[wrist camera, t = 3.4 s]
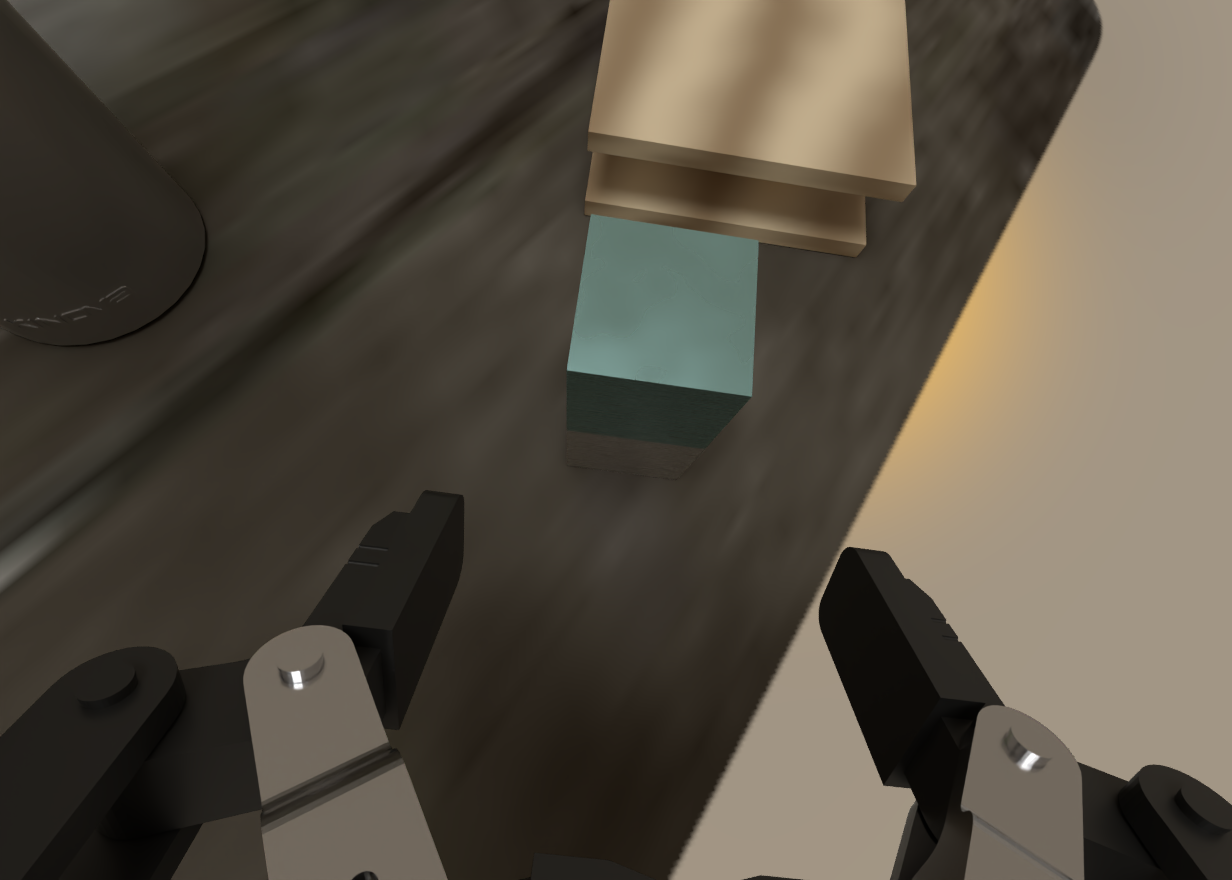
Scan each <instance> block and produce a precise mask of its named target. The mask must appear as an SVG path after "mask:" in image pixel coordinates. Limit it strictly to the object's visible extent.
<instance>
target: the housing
mask: <svg viewBox="0 0 1232 880" xmlns="http://www.w3.org/2000/svg"><path fill="white" fill-rule="evenodd" d="M758 244H759V240H753V239H747V238H740V237H734V236H728V235H721V234H715V233H708V232H702V231H696V230H689V229H683V228H677V227H670V226H664V225H658V224H651V223H645V222H638V221H632V220H626V219H619V218H613V217H607V216H600V215H594V214H591V218H590V224H589V231H588V237H587V243H586V250H585V256H584V263H583V269H582V276H581V282H580V288H579V295H578V301H577V308H576V314H575V321H574V327H573V333H572V340H571V346H570V353H569V359H568V365H567V466H573V467H580V468H588V469H595V470H603V471H610V472H618V473H625V474H633V475H640V476H648V477H655V478H663V479H670V480H677V479H678V478H679V477H680V476H681V475H682V474H683V473H684V472H685V470H686V469H687V468H688V467H689V466H690V465H691V464H692V463H693V462H694V460H695V459H696V458H697V457H698V456H699V455H700V454H701V453H702V452H703V450H704V449H705V448H706V447H707V446H708V445H709V444H710V443H711V442H712V440H713V439H714V438H715V437H716V436H717V435H718V434H719V433H720V432H721V430H722V429H723V428H724V427H725V426H726V425H727V424H728V423H729V422H730V420H731V419H732V418H733V417H734V416H735V415H736V414H737V413H738V411H739V410H740V409H741V408H742V407H743V406H744V405H745V404H746V403H747V401H748V400H749V399H750V398H751V397H752V383H753V360H754V336H755V313H756V290H757V267H758Z"/></svg>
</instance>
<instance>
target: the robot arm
mask: <svg viewBox="0 0 1232 880" xmlns="http://www.w3.org/2000/svg"><path fill="white" fill-rule="evenodd" d="M204 250H205V229H204V225H203V222H202V218H201V215H200V212H199V211H198V209H197V208H196V206H195V204H194V203H193V201H192V200H191V198H190V197H189V196H188V195H187V194H186V193H185V192H184V191H183V190H182V188H181V187H180V186H179V185H178V184H177V183H176V182H175V181H174V180H173V179H172V178H171V177H170V176H169V174H168V173H167V172H166V171H165V170H164V169H163V168H162V167H161V166H160V165H159V164H158V163H157V162H156V161H155V159H154V158H153V157H152V156H151V155H150V154H149V153H148V152H147V151H146V150H145V149H144V148H143V147H142V145H141V144H140V143H139V142H138V141H137V140H136V139H135V138H134V137H133V136H132V135H131V134H130V133H129V132H128V130H127V129H126V128H125V127H124V126H123V125H122V124H121V122H120V121H119V120H118V119H117V118H116V117H115V116H114V115H113V114H112V113H111V112H110V111H109V110H108V108H107V107H106V106H105V105H104V104H103V103H102V102H101V101H100V100H99V99H98V98H97V97H96V96H95V94H94V93H93V92H92V91H91V90H90V89H89V88H88V87H87V86H86V85H85V84H84V83H83V82H82V80H81V79H80V78H79V77H78V76H77V75H76V74H75V73H74V72H73V71H72V70H71V69H70V68H69V67H68V65H67V64H66V63H65V62H64V61H63V60H62V59H61V58H60V57H59V56H58V55H57V54H56V53H55V51H54V50H53V49H52V48H51V47H50V46H49V45H48V44H47V43H46V42H45V41H44V40H43V39H42V37H41V36H40V35H39V34H38V33H37V32H36V31H35V30H34V29H33V28H32V27H31V26H30V25H29V23H28V22H27V21H26V20H25V19H24V18H23V17H22V16H21V15H20V14H19V13H18V12H17V11H16V10H15V8H14V7H13V6H12V5H11V4H10V3H9V2H8V1H7V0H0V327H1V328H3V329H5V330H7V331H9V332H11V333H13V334H15V335H18V336H21V337H24V338H26V339H29V340H32V341H35V342H39V343H46V344H53V345H60V346H62V345H86V344H91V343H96V342H101V341H106V340H110V339H114V338H116V337H119V336H121V335H124V334H127V333H129V332H132V331H135V330H137V329H138V328H140V327H142V326H144V325H145V324H147V323H149V322H150V321H152V320H154V319H156V318H157V317H159V316H160V315H161V314H162V313H163V312H165V311H166V310H167V309H168V308H169V307H171V306H172V305H173V304H174V303H175V302H177V300H178V299H179V298H180V297H181V295H182V294H183V293H184V292H185V291H186V289H187V288H188V287H189V286H190V285H191V283H192V281H193V279H194V277H195V275H196V273H197V271H198V270H199V268H200V265H201V261H202V257H203V254H204ZM463 551H464V497H463V495H459V494H451V493H444V492H436V491H429V490H425V491H424V492H423V493H422V494H421V496H420V498H419V499H418V501H417V503H416V504H415V506H414V508H413V509H412V511H411V512H410V513H403V512H395V511H393V512H392V513H391V514H389V515H388V516H386V517H385V518H383V519H382V520H380V521H379V522H377V523H376V524H374V525H373V526H372V527H371V528H370V530H369V531H368V533H367V534H366V535H365V537H364V538H363V540H362V541H361V543H360V544H359V548H356V550H355V551H354V553H353V554H352V556H351V557H350V559H349V561H348V564H345V566H344V567H343V569H342V570H341V572H340V573H339V574H338V576H337V577H336V579H335V580H334V582H333V583H332V585H331V586H330V587H329V589H328V590H327V592H326V593H325V595H324V596H323V598H322V599H321V600H320V602H319V603H318V605H317V606H316V608H315V609H314V611H313V612H312V613H311V615H310V616H309V618H308V619H307V621H306V622H305V624H304V625H303V626H302V627H300V628H296V629H293V630H290V631H287V632H285V633H283V634H281V635H279V636H277V637H275V638H273V639H272V640H270V641H269V642H267V643H266V644H265V645H263V646H262V647H261V648H260V649H259V650H258V651H257V652H256V653H255V654H254V655H253V657H252V658H251V659H247V660H243V661H238V662H233V663H226V664H220V665H213V666H206V667H199V668H192V669H186V670H178V667H177V664H176V662H175V659H174V658H173V657H172V655H171V654H169V653H168V652H166V651H164V650H162V649H159V648H154V647H131V648H125V649H120V650H116V651H113V652H109V653H106V654H103V655H101V656H98V657H96V658H93V659H91V660H89V661H87V662H85V663H83V664H81V665H80V666H78V667H76V668H75V669H73V670H71V671H70V672H68V673H67V674H66V675H64V676H63V677H61V678H60V679H59V680H58V681H57V682H56V683H54V684H53V685H52V686H51V687H50V688H49V689H48V690H47V691H46V692H45V693H44V694H43V695H42V696H41V697H40V698H39V699H38V700H37V701H36V702H35V703H34V704H33V705H32V706H31V707H30V708H29V709H28V710H27V711H26V712H25V713H24V714H23V715H22V716H21V717H20V718H19V719H18V720H17V721H16V722H15V723H14V724H13V725H12V726H11V727H10V728H9V729H8V730H7V731H6V732H5V733H4V734H3V735H2V736H1V737H0V880H170V879H171V878H172V876H173V874H174V873H175V871H176V869H177V867H178V866H179V864H180V862H181V860H182V859H183V857H184V855H185V853H186V852H187V850H188V848H189V847H190V845H191V843H192V841H193V840H194V838H195V836H196V834H197V833H198V831H199V829H200V827H201V826H202V824H203V823H205V822H209V821H214V820H218V819H222V818H227V817H231V816H235V815H240V814H244V813H248V812H253V811H257V810H261V809H262V813H261V829H262V837H263V844H264V851H265V858H266V865H267V871H268V878H269V880H448V879H447V877H446V874H445V871H444V869H443V866H442V863H441V860H440V858H439V855H438V852H437V850H436V847H435V844H434V842H433V839H432V836H431V833H430V831H429V828H428V825H427V823H426V820H425V817H424V814H423V812H422V809H421V806H420V804H419V801H418V798H417V796H416V793H415V790H414V787H413V785H412V782H411V779H410V777H409V774H408V771H407V769H406V766H405V763H404V761H403V759H402V757H401V755H400V753H399V751H398V750H397V749H396V748H395V749H392V748H391V746H390V744H389V742H388V739H387V736H386V733H385V731H384V728H386V729H395V730H399V729H400V726H401V724H402V721H403V719H404V716H405V714H406V711H407V709H408V706H409V704H410V701H411V699H412V696H413V694H414V691H415V689H416V686H417V684H418V681H419V679H420V676H421V674H422V671H423V669H424V666H425V664H426V661H427V659H428V656H429V654H430V651H431V649H432V646H433V644H434V641H435V639H436V636H437V634H438V631H439V629H440V626H441V624H442V621H443V619H444V616H445V614H446V611H447V609H448V606H449V604H450V601H451V599H452V596H453V594H454V591H455V589H456V586H457V584H458V581H459V577H460V573H461V568H462V563H463ZM819 624H820V628H821V632H822V634H823V637H824V639H825V642H826V644H827V646H828V649H829V651H830V654H831V656H832V659H833V661H834V664H835V666H836V669H837V671H838V674H839V676H840V678H841V681H842V683H843V686H844V689H845V691H846V693H847V696H848V698H849V701H850V703H851V706H852V708H853V711H854V713H855V716H856V718H857V721H858V723H859V726H860V728H861V731H862V733H863V735H864V738H865V740H866V743H867V746H868V748H869V750H870V753H871V756H872V758H873V760H874V763H875V765H876V768H877V770H878V773H879V775H880V778H881V780H882V783H883V785H884V786H893V787H903V788H911V790H912V792H913V794H914V796H915V798H916V801H915V803H914V804H913V805H912V807H911V808H910V811H909V813H908V817H907V820H906V824H905V827H904V831H903V835H902V839H901V842H900V846H899V849H898V853H897V857H896V861H895V864H894V867H893V871H892V875H891V878H890V880H1232V805H1231V804H1230V803H1228V802H1227V801H1226V800H1225V799H1224V798H1222V797H1221V796H1220V795H1218V794H1217V793H1216V792H1214V791H1213V790H1212V789H1210V788H1209V787H1207V786H1206V785H1204V784H1202V783H1201V782H1199V781H1198V780H1196V779H1194V778H1192V777H1190V776H1189V775H1187V774H1185V773H1182V772H1180V771H1178V770H1175V769H1172V768H1169V767H1166V766H1161V765H1147V766H1145V767H1143V768H1142V769H1141V770H1140V771H1139V772H1138V773H1137V774H1136V775H1135V776H1134V777H1133V778H1132V779H1131V780H1130V781H1129V782H1128V781H1125V780H1123V779H1120V778H1118V777H1115V776H1112V775H1110V774H1107V773H1105V772H1102V771H1099V770H1097V769H1095V768H1092V767H1089V766H1087V765H1084V764H1081V763H1079V762H1077V761H1076V759H1075V758H1074V756H1073V755H1072V753H1071V752H1070V750H1069V749H1068V748H1067V747H1066V746H1065V744H1064V743H1063V742H1062V741H1061V740H1060V739H1059V738H1058V737H1057V736H1056V735H1055V734H1054V733H1053V732H1051V731H1050V730H1049V729H1048V728H1047V727H1045V726H1044V725H1042V724H1041V723H1040V722H1038V721H1037V720H1035V719H1033V718H1032V717H1030V716H1028V715H1026V714H1024V713H1022V712H1020V711H1017V710H1015V709H1012V708H1009V707H1005V705H1004V704H1003V702H1002V701H1001V700H1000V698H999V697H998V695H997V694H996V692H995V691H994V689H993V688H992V686H991V685H990V684H989V682H988V681H987V679H986V678H985V676H984V675H983V673H982V672H981V670H980V669H979V667H978V666H977V665H976V663H975V661H974V660H973V658H972V657H971V656H970V654H969V653H968V651H967V650H966V648H965V647H964V645H963V644H962V642H958V636H957V635H956V634H955V632H954V631H953V629H952V628H951V626H950V625H949V624H946V619H945V618H944V616H943V614H942V613H941V612H940V610H939V609H938V607H937V606H936V604H935V603H934V601H933V600H932V599H931V598H930V597H929V596H928V595H927V594H926V593H924V591H922V590H921V589H920V588H919V587H918V586H917V585H916V584H914V583H913V582H912V581H911V580H910V579H905V578H904V576H903V575H902V573H901V572H900V570H899V569H898V567H897V566H896V565H895V563H894V561H893V560H892V558H891V557H890V555H889V554H888V553H886V552H883V551H876V550H869V549H861V548H853V547H847V548H846V549H845V550H843V552H842V553H841V555H840V558H839V560H838V562H837V564H836V567H835V569H834V571H833V574H832V576H831V578H830V581H829V583H828V585H827V587H826V590H825V592H824V594H823V597H822V599H821V602H820V607H819ZM520 880H655V879H653V878H650V877H648V876H646V875H643V874H641V873H638V872H636V871H634V870H631V869H629V868H626V867H624V866H622V865H619V864H617V863H614V862H612V861H610V860H602V859H592V858H582V857H572V856H562V855H552V854H542V853H534V859H533V866H532V873H531V877H529V878H525V879H520ZM744 880H801V879H790V878H781V877H771V876H756V877H752V878H748V879H744Z"/></svg>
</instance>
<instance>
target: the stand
mask: <svg viewBox="0 0 1232 880" xmlns="http://www.w3.org/2000/svg"><path fill="white" fill-rule="evenodd" d="M587 151H591V152H593V155H592V161H591V167H590V174H589V180H588V186H587V192H586V198H585V215H589V216H591V214H594V215H600V216H607V217H613V218H619V219H626V220H632V221H638V222H645V223H651V224H658V225H664V226H670V227H677V228H683V229H689V230H696V231H702V232H708V233H715V234H721V235H728V236H734V237H740V238H747V239H753V240H759V242H761V243H767V244H774V245H780V246H786V247H793V248H799V249H805V250H812V251H818V252H825V253H831V254H837V255H844V256H850V257H857V256H858V254H859V253H860V252H861V251H862V250H863V248H864V247H865V246H866V217H865V196H868V197H874V198H880V199H886V200H892V201H898V202H903V201H904V199H905V198H906V197H907V196H908V195H909V194H910V192H911V191H912V190H913V189H914V188H915V186H916V173H915V157H914V141H913V124H912V108H911V92H910V76H909V60H908V44H907V27H906V11H905V0H610V4H609V10H608V16H607V22H606V28H605V34H604V40H603V46H602V52H601V58H600V64H599V70H598V76H597V82H596V88H595V94H594V100H593V106H592V112H591V118H590V124H589V130H588V150H587Z"/></svg>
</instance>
